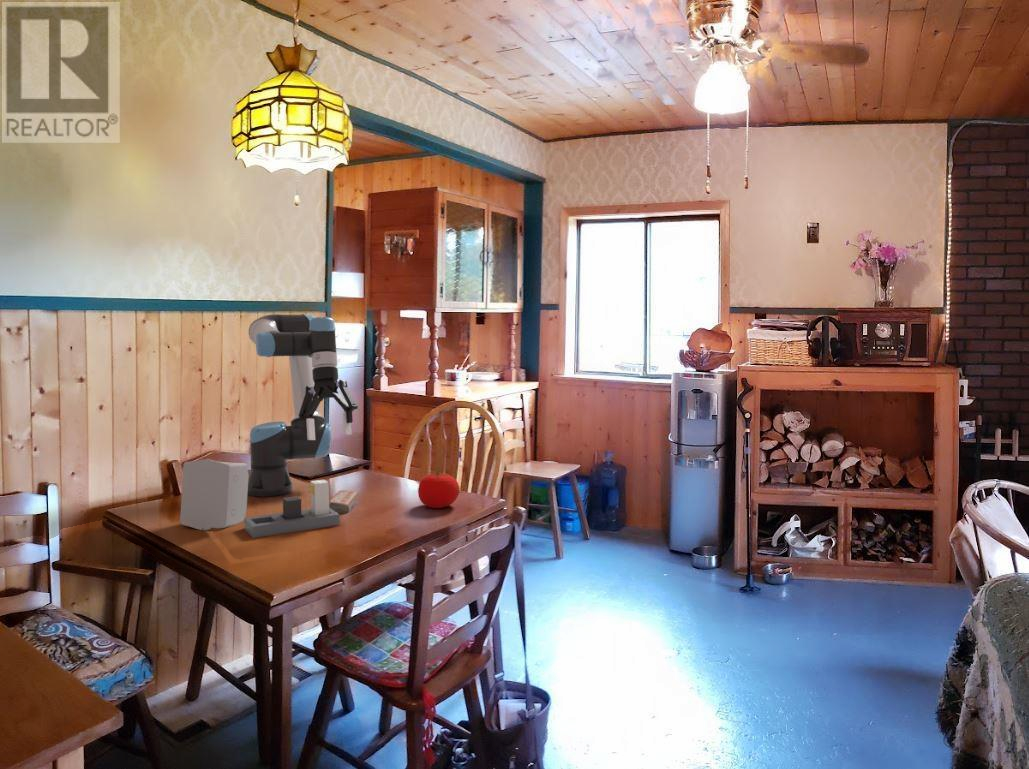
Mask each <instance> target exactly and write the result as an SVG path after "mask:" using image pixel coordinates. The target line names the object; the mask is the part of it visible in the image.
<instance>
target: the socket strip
mask: <svg viewBox="0 0 1029 769" xmlns="http://www.w3.org/2000/svg"><path fill="white" fill-rule="evenodd" d="M340 519H341V518H340V513H336V512H335V511H334V510H332V509H331V508H329V514H324V515H316V516H313V515H312V514H311V508H308V509H301V518H295V519H288V520H285V519H284V518H283V512H277V513H271V514H262V515H255V516H246V517H245V518H244V520H243V521H244V522H243V524H244V526H243V528H244V530H245V531H246V532H247V533H248V534H249V535H250V537H251V538H253V539H255V538H262V537H268V536H275V535H282V534H288V533H294V532H295V533H296V532H301V531H303V532H304V531H309V530H314V529H315V530H316V529H322V528H327V527H329V528H330V527H334V526H336V527H337V526H340Z"/></svg>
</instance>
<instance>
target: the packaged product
mask: <svg viewBox="0 0 1029 769" xmlns="http://www.w3.org/2000/svg"><path fill="white" fill-rule="evenodd" d="M358 498H359V492H358V491H355V490H350V489H349V490H342V489H341V490H339V491H338V492H337V493H335V495H334V496H332V498H331V499H329V508H331V509H332V510H334V511H335V512H336V513H338V514H340V513H341V514H342V513H349V512H351V511H352V510H353V509H354V507H356V505H357V504H358Z"/></svg>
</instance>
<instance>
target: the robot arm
mask: <svg viewBox="0 0 1029 769" xmlns="http://www.w3.org/2000/svg"><path fill="white" fill-rule="evenodd" d="M248 336H249V339H250V341H252V343H253V344H254V345H255V350H256V355H257V356H258V357H265V358H270V357H289V358H288V359H289V367H290V370H289V372H290V379H291V380H290V381H291V392H292V401H293V402H292V403H293V411H294V412H293V413H294V417H293V418H292V419H291V421H290V425H287V424H286V422H285V421H271V422H266V423H261V424H258V425H255V426H254V427H252V428H251V429H250V432H249V434H250V435H249V443H250V444H249V445H250V452H249V453H250V472H249V473H248V492H247V496H252V497H274V496H275V497H276V496H281V495H285V494H289V493H291V492H292V491H293V482H292V480H291V477H290V473H289V470H288V467H287V466H288V464H287V461H290V460H303V459H304V460H305V459H314V460H315V459H317V458H324V457H326V456H327V455H328V454H329V452H330V448H331V441H332V427H331V424H330V423H328V422H327V423H326V419H325V416H323V415H321V414H320V413H321V412H320V411H321V410H320V404H321V402H322V401H323V400H327V399H330V398H331V399H332V398H333V400H335V401H336V403H337V404H338V405H339V406H340V407H341V408H342V410H343V412H342V423H343V424H342V425H343V435H348V436H350V435H353V434H352V433H353V432H352V423H353V421H354V420H353V418H354V417H353V412H354V411H355V410H358V404H357V402H356V401H355V399H354V397H353V395H352V393H351V391H350V388H349V387H348V382H347V380H344V379H339V369H338V368H337V367H338V354H337V342H336V327H335V321H334V319H333V318H331V317H328V316H318V317H317V316H315V315H312V314H304V313H301V314H275V313H273V314H267V315H263V316H260V317H258V318H256V319H255V320H253V322H251V323H250V325H249V328H248ZM338 389H340V392H341V393H340V392H339V390H338Z"/></svg>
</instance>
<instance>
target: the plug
mask: <svg viewBox="0 0 1029 769" xmlns="http://www.w3.org/2000/svg"><path fill="white" fill-rule="evenodd" d="M329 483H330V482H329V481H328V480H326V479H318V480H317V479H316V480H310V484H308V493H309V495H310V509H311V514H312V515H313V516H316V515H324V514H329V501H330V488H329V487H330V486H329V485H330V484H329Z"/></svg>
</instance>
